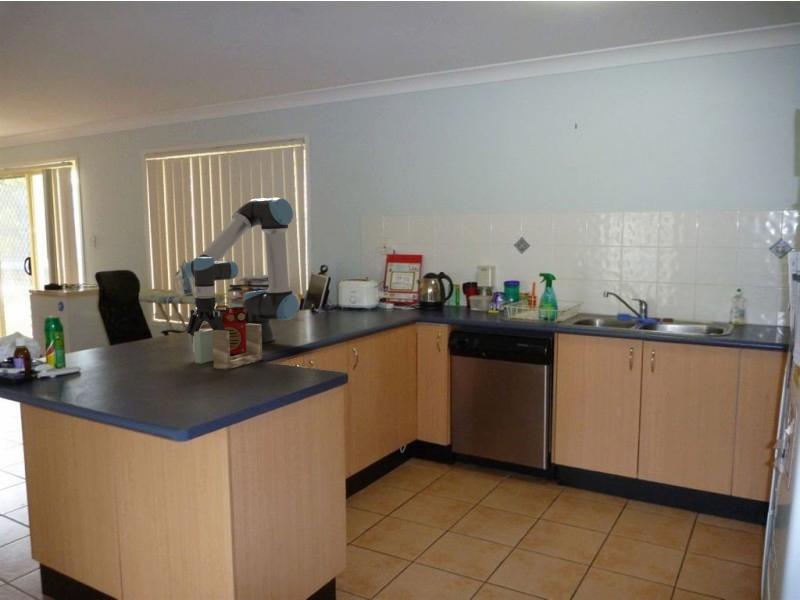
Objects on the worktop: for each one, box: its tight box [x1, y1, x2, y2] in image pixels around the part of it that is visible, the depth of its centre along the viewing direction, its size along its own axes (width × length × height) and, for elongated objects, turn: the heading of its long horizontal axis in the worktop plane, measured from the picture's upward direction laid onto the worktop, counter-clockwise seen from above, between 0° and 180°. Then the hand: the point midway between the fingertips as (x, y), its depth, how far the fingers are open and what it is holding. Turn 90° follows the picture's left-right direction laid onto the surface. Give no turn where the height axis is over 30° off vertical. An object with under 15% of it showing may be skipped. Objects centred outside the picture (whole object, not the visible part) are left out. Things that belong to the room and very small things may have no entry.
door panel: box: [194, 328, 214, 364], centre depth 245 cm, size 10×3×12 cm, turn 153°
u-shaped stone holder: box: [212, 323, 263, 371], centre depth 239 cm, size 20×6×14 cm, turn 153°
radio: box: [210, 304, 249, 355], centre depth 259 cm, size 16×10×20 cm, turn 105°
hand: (207, 353), depth 245 cm, fingers open, 11 cm apart
